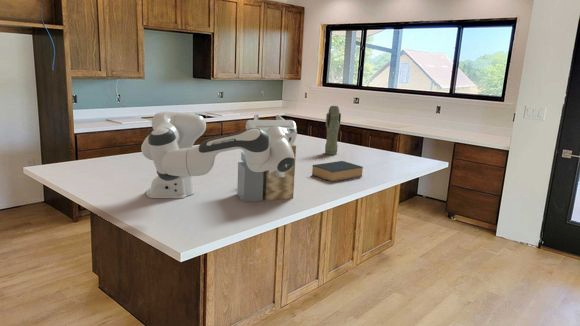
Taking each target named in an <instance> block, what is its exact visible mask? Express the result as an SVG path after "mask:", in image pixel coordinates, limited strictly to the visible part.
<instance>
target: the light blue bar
mask: <svg viewBox="0 0 580 326" xmlns="http://www.w3.org/2000/svg"><path fill="white" fill-rule="evenodd" d="M240 159H241V162H244V163H245V164H246V165H247V163H246V159H245V154H244V151H241V153H240ZM254 173H255V172H254ZM262 173H263V172H262Z"/></svg>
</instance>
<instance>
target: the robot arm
mask: <svg viewBox="0 0 580 326" xmlns="http://www.w3.org/2000/svg"><path fill="white" fill-rule="evenodd" d="M253 115H254V116H253V119H248V120H247V121H246V122H245V130H243V131H239V132H236V133H230V134H224V135H221V136H216V137H212V138H208V139H205V140H203V141H201V142H200V144H199V145H197V146H194V144H195V142H196V141H197V140H198V139H199V138H200V137H201V136H202V135H203V134H204V133H205V132H206V129H207V123H206V120H205V118H204V117H203V116H202V115H200V114H197V113H189V112H178V111H177V112H176V111H175V112H174V111H160V112H156V113H155V114H154V115H153V117H152V120H151V127H152V131H151V132H150V133H149V134H148V135H147V136H146V137H145V139H144V140H143V142H142V143H141V146H140V147H141V148H140V149H141V153H142V155H143V156H144V158H146V159H147V160H150V161H153V164H154V167H155V170H156V174H157V176H155V178H153V179H152V181H151V185H150V188H148V189H146V191H145V195H146V197H148V198H149V199H184V198H187V197H188V196H192V195H194V194H195V192H196V191H195V189H194V188H195V187H194V184H193V177H199V176H201V177H202V176H204V175H207V174H208V173H209V172H210V171H211V170H212V169H213V167H214V165H215V161H216V156H217V155H218V154H220V153H223V152H229V151H233V150H238V149H239V150H242V152H244V154H245V159H246V163H247V167H248V168H249V170H251V171H252V172H255V173H262V172H265V171H269V170H275V171H278V172H286V171H288V170H290V169H291V168H292V166H293V165H294V161H295V162H296V157H294V153H293V150H292V147H291V145H290V144H293V145H294V144H295V142H296V138H297V134H298V130H297V124H296V122H295V121H294V120H292V119H285V118H283V117H282V116H281V115H280V114H276V116H275V119H264V120H263V119H259V118H260V116H259V114H253Z"/></svg>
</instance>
